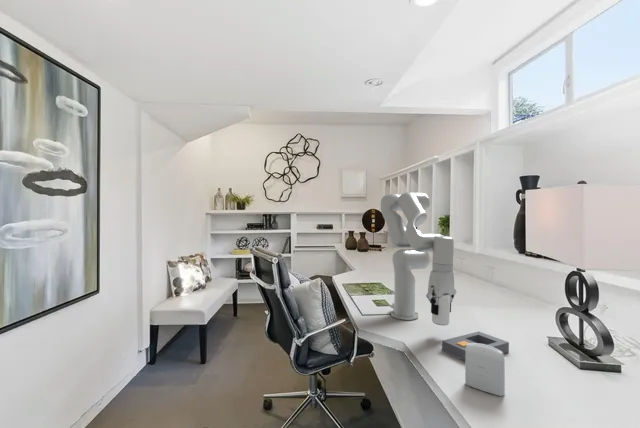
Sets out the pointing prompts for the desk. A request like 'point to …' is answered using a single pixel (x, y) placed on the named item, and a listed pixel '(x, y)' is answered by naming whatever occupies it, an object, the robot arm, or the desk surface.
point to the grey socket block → (459, 343)
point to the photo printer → (485, 368)
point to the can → (442, 311)
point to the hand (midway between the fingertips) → (440, 312)
